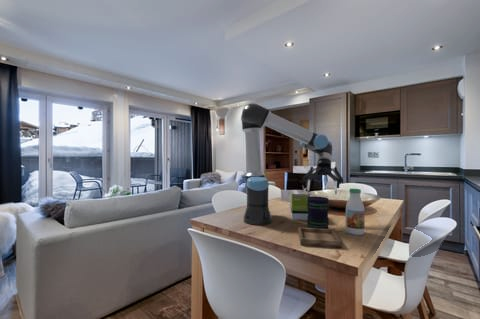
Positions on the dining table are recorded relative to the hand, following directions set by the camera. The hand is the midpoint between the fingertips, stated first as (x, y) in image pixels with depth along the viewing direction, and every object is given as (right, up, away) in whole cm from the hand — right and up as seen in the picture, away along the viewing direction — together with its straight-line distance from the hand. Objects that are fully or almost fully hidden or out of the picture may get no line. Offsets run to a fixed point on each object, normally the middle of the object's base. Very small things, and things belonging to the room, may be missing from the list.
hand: (321, 191), depth 116 cm
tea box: (-7, -17, +15) cm, 24 cm away
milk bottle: (+11, -17, -13) cm, 24 cm away
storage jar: (-5, -17, -8) cm, 20 cm away
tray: (-10, -17, -23) cm, 30 cm away
